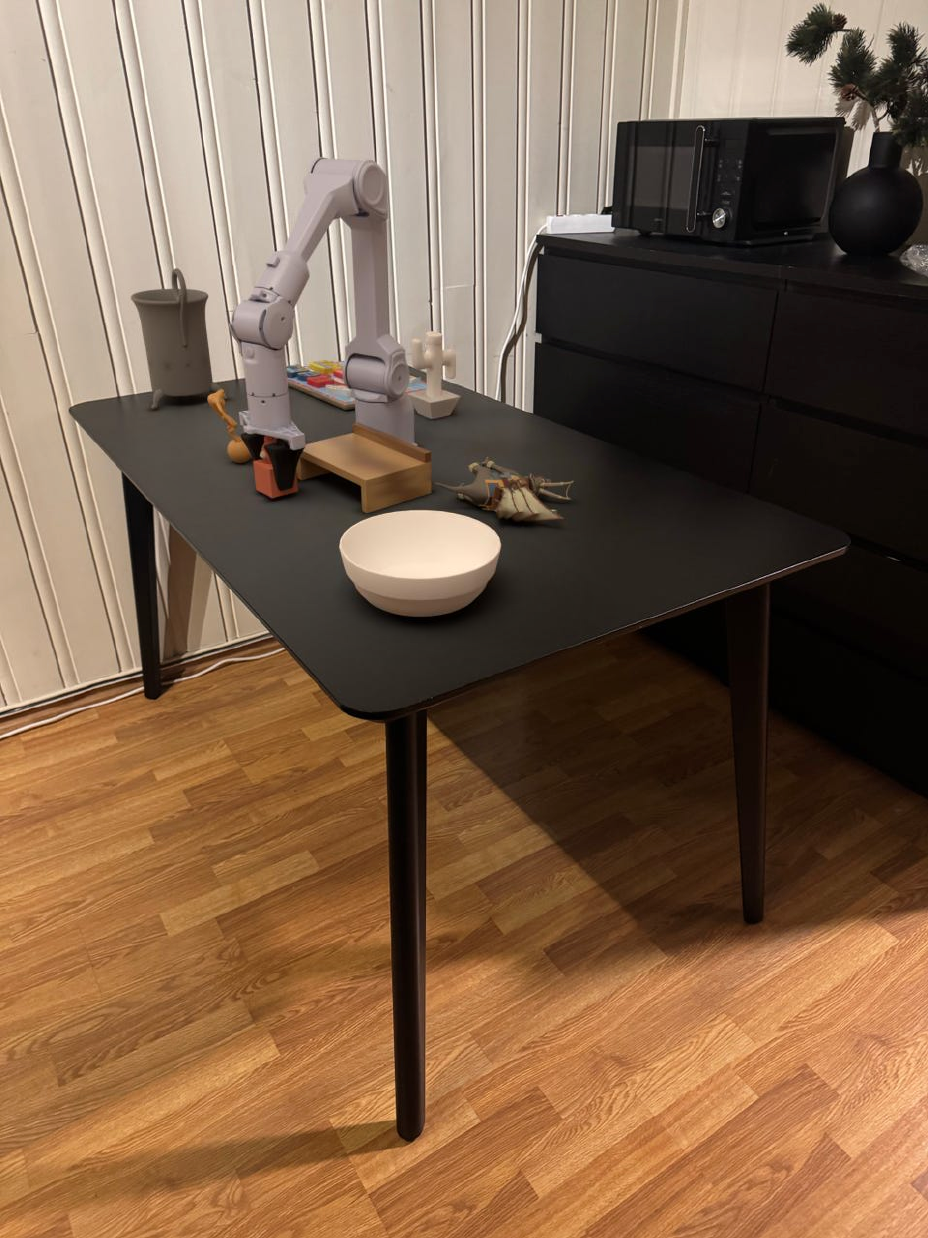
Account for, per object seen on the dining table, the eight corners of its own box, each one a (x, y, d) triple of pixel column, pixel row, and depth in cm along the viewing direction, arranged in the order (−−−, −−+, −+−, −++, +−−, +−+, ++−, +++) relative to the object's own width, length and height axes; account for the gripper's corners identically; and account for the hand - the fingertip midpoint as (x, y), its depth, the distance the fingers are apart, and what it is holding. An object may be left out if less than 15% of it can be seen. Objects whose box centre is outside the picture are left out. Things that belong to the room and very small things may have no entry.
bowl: (428, 549, 113) (428, 498, 109) (531, 601, 101) (534, 545, 98) (311, 594, 102) (306, 537, 98) (411, 657, 91) (410, 596, 87)
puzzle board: (441, 392, 177) (441, 379, 176) (345, 412, 164) (344, 398, 163) (359, 362, 197) (358, 350, 196) (268, 377, 184) (267, 365, 183)
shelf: (360, 461, 141) (358, 422, 138) (431, 493, 130) (431, 451, 127) (297, 478, 134) (294, 437, 131) (367, 513, 123) (365, 469, 120)
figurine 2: (465, 414, 164) (466, 332, 157) (425, 423, 159) (425, 339, 152) (441, 405, 169) (442, 325, 162) (402, 413, 164) (401, 332, 156)
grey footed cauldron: (134, 393, 172) (111, 258, 160) (208, 384, 179) (191, 254, 167) (160, 419, 159) (137, 273, 146) (238, 407, 165) (222, 268, 153)
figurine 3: (543, 449, 132) (608, 488, 119) (538, 487, 135) (601, 529, 122) (424, 460, 123) (480, 503, 110) (421, 500, 126) (476, 547, 113)
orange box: (282, 482, 130) (277, 430, 126) (298, 491, 128) (293, 438, 124) (256, 489, 128) (250, 437, 124) (272, 498, 125) (266, 444, 121)
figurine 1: (259, 468, 137) (251, 393, 131) (221, 473, 135) (211, 397, 129) (248, 452, 144) (240, 379, 138) (211, 457, 142) (201, 383, 136)
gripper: (216, 385, 123) (227, 476, 130) (270, 408, 114) (279, 505, 120) (259, 377, 127) (268, 465, 134) (315, 399, 118) (321, 493, 124)
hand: (276, 483), depth 127 cm, fingers closed on orange box, 4 cm apart
